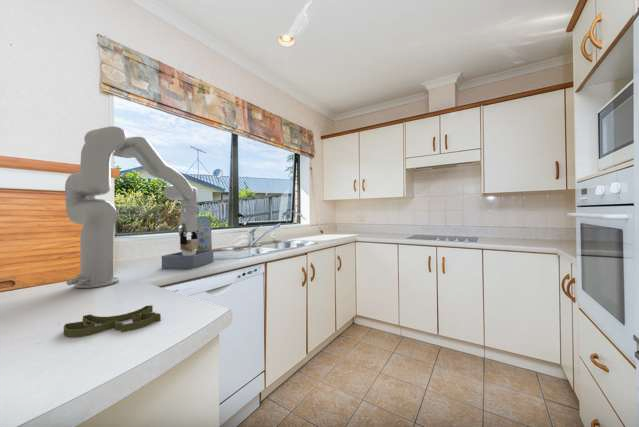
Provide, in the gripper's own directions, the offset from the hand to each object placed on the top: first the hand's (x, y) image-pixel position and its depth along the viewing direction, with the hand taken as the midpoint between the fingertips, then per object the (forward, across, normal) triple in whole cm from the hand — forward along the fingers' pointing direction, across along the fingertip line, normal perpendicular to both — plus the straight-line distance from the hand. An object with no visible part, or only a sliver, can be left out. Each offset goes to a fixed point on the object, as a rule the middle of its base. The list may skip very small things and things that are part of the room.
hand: (188, 243), depth 138 cm
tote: (+11, 0, 0) cm, 11 cm away
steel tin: (+10, 0, 0) cm, 10 cm away
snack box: (+11, -24, -5) cm, 27 cm away
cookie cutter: (+12, +74, +26) cm, 79 cm away
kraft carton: (+3, 0, 0) cm, 3 cm away
